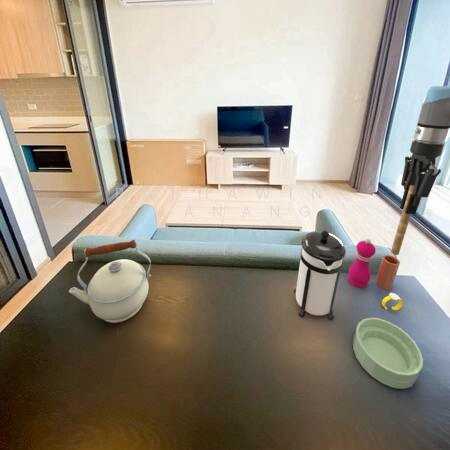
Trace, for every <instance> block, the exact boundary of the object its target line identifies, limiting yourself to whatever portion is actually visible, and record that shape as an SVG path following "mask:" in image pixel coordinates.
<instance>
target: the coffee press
mask: <svg viewBox="0 0 450 450" xmlns="http://www.w3.org/2000/svg"><path fill="white" fill-rule="evenodd" d="M300 243H301V249H300V255H299V257H300V260H299V267H298V272H297V273H298V274H297V280H296V281H297V282H296V287H295V289H294V290H293V292H294V294H295V299H296V302H297V304H298V306H299V307H300V309H299V311H298V316H300V317H301V318H304V316H305V314H306V313H308V314H309V315H313V316H324V315H325V316H326V317H327V318H328V320H329V321H333V320H334V319H335V315H334V312H333V307H334V302H335V298H336V294H337V289H338V284H339V280H340V275H341V270H342V268H343V264H344V258H345V257H346V252H347V249H346V247H345V245H344V243H343V241H342V240H341V239H340V238H339V237H337V236H336V235H335V234H332V233H330V232H328V231H327V230H314V231H310V232H308V233H307V234H306V235H305V236H303V237H302V238H301V242H300Z"/></svg>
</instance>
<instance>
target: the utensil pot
mask: <svg viewBox="0 0 450 450" xmlns="http://www.w3.org/2000/svg"><path fill="white" fill-rule="evenodd" d="M400 265H401V261H400V259H398V258H397V257H395V256H393V255H389V254H384V255H383V256H382V258H381V262H380V265H379V269H378V272H377V275H376V280H375V283H376V285H377V286H378V287H379V288H381V289H383V290H385V291H391V290H393V287H394V283H395V280H396V277H397V274H398V271H399V268H400Z"/></svg>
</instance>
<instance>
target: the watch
mask: <svg viewBox="0 0 450 450" xmlns="http://www.w3.org/2000/svg"><path fill="white" fill-rule="evenodd" d="M391 300H392V301H394V302H398V301H399V302H398V303H397V304H396V305H394V306H391V309H392V311H398V310H401V309H402V307H403V305H404V302H403V300H402V299H401V297H400V296H399V295H398V294H397V293H394V292H389V293H388V295H386V296H384V297H383V299H382V300H381V304H382V307H383V309H384V310H387V311H388V307H387V306H386V303H387V302H389V301H391Z"/></svg>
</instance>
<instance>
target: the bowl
mask: <svg viewBox="0 0 450 450" xmlns="http://www.w3.org/2000/svg"><path fill="white" fill-rule="evenodd" d="M352 349H353V352H354V355H355V358H356V360H357V361H358V362H359V364H360V365H361V367H362V368H363V369H364V370H365V372H367V373H368V374H369V375H370V376H371V377H372V378H373V379H375V380H376V381H378V382H379V383H380V384H382V385H385V386H387V387H390V388H393V389H401V390H405V389H408V388H412V387H413V386H414V385H415V383H417V381H418V378H419V376H420V374H421V372H422V369H423V365H424V358H423V355H422V351H421V349H420V348H419V346H418V345H417V343H416V341H414V339H413V338H412V337H411V336H410V335H409V334H408V333H407V332H405V330H403V329H402V328H401V327H399V326H398V325H396V324H394V323H393V322H391V321H388V320H385V319H382V318H379V317H366V318H363V319H361V320H360V321H359V322H358V323H357V325H356V328H355V332H354V335H353V340H352Z"/></svg>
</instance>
